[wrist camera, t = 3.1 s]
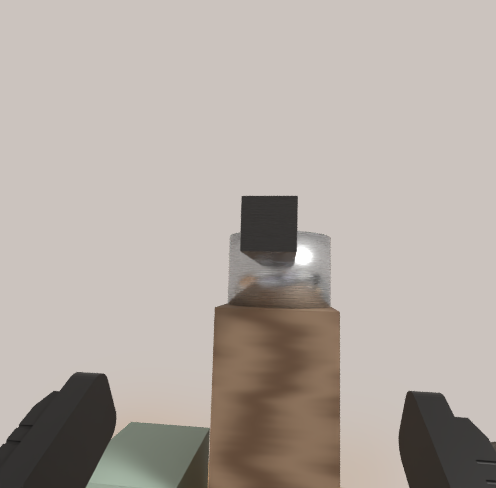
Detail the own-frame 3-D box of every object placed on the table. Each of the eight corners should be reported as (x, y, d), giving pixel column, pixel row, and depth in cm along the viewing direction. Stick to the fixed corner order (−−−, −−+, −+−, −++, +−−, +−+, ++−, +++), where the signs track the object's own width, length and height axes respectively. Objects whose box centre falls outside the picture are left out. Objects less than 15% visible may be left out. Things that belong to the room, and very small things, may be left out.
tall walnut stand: (318, 608, 37) (320, 301, 41) (340, 845, 22) (339, 311, 25) (234, 597, 38) (242, 298, 42) (196, 815, 23) (214, 307, 26)
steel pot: (325, 303, 35) (325, 244, 36) (375, 331, 15) (373, 189, 15) (235, 300, 36) (237, 243, 37) (165, 322, 16) (172, 190, 16)
